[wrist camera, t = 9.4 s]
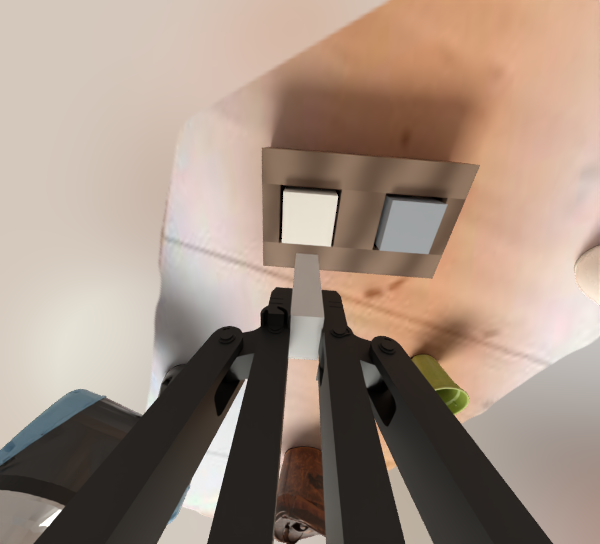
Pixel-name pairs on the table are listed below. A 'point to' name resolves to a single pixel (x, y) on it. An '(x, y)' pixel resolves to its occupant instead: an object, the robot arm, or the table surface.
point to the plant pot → (442, 383)
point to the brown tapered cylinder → (300, 496)
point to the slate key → (409, 223)
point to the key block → (361, 206)
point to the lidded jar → (589, 274)
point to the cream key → (308, 215)
